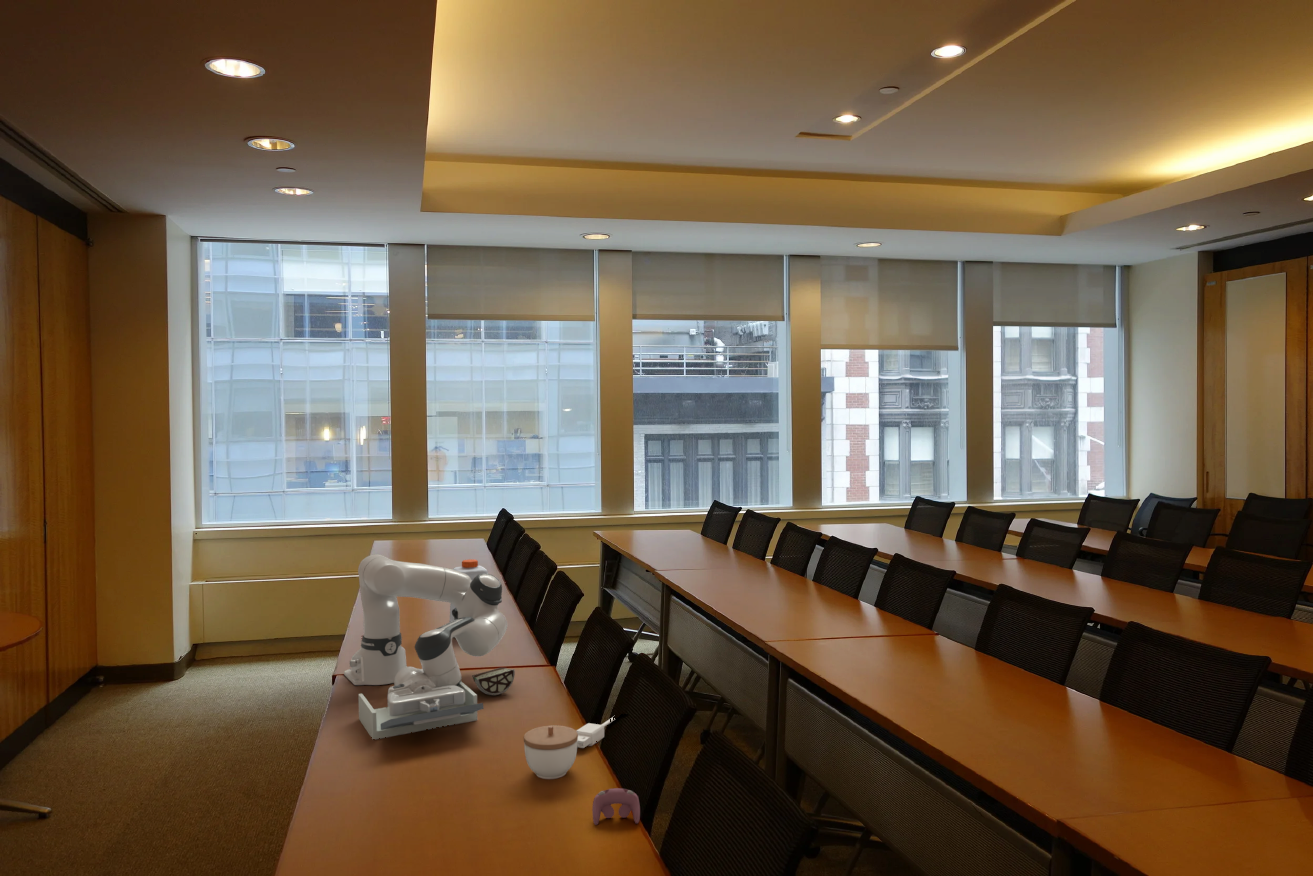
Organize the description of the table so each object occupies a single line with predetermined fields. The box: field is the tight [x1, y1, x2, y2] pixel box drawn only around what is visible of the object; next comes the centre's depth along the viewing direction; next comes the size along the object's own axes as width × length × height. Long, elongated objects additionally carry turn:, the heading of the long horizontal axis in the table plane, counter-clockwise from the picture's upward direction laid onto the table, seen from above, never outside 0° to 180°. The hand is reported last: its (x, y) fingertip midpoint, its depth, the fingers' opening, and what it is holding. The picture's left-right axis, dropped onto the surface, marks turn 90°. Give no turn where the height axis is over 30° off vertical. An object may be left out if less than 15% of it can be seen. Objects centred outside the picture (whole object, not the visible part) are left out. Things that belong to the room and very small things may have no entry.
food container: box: [471, 667, 516, 696], centre depth 268 cm, size 12×6×10 cm
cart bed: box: [358, 681, 478, 740], centre depth 244 cm, size 18×28×7 cm, turn 120°
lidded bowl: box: [523, 724, 578, 780], centre depth 207 cm, size 13×13×11 cm
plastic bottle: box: [448, 558, 489, 623], centre depth 338 cm, size 15×15×28 cm
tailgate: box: [381, 702, 484, 730], centre depth 231 cm, size 2×24×12 cm
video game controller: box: [591, 787, 641, 826], centre depth 184 cm, size 10×5×7 cm, turn 93°
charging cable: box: [576, 716, 616, 749], centre depth 236 cm, size 5×32×3 cm, turn 158°
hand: (433, 709), depth 230 cm, fingers closed
